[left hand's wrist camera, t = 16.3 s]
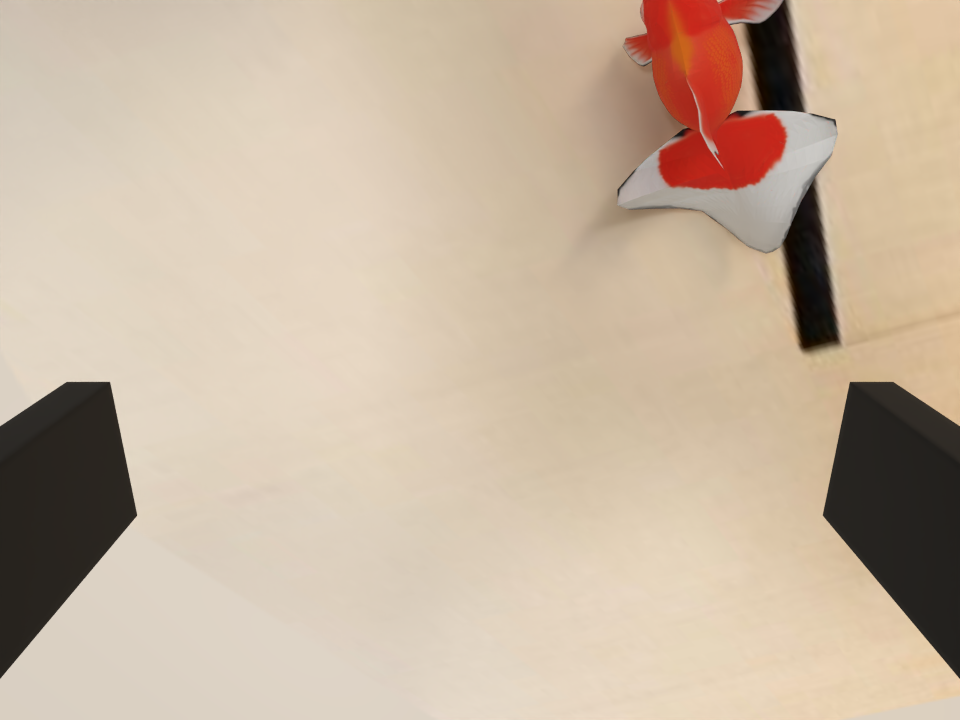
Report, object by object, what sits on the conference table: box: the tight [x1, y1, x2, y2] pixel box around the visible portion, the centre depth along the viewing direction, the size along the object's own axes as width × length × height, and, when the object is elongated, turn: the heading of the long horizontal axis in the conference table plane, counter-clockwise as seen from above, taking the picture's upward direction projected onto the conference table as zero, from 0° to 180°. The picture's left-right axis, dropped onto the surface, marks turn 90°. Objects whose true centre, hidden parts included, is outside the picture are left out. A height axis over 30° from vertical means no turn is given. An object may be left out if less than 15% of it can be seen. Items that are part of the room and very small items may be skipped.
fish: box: [618, 0, 838, 253], centre depth 35 cm, size 11×16×10 cm
